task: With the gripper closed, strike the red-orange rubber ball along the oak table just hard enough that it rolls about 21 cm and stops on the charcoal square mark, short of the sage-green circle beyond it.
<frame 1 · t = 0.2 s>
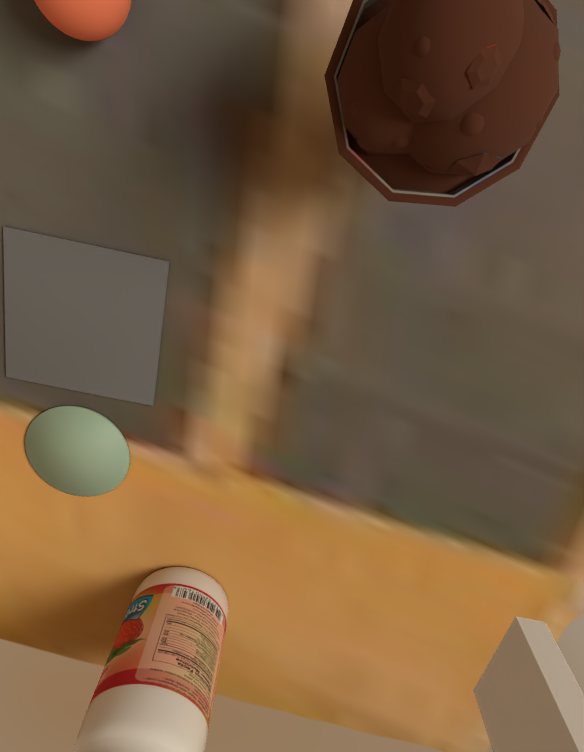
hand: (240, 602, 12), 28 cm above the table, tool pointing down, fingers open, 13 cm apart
fruit juice: (183, 598, 49), on the table
ice cream bowl: (404, 108, 32), on the table
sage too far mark: (78, 452, 43), on the table
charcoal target: (84, 321, 38), on the table
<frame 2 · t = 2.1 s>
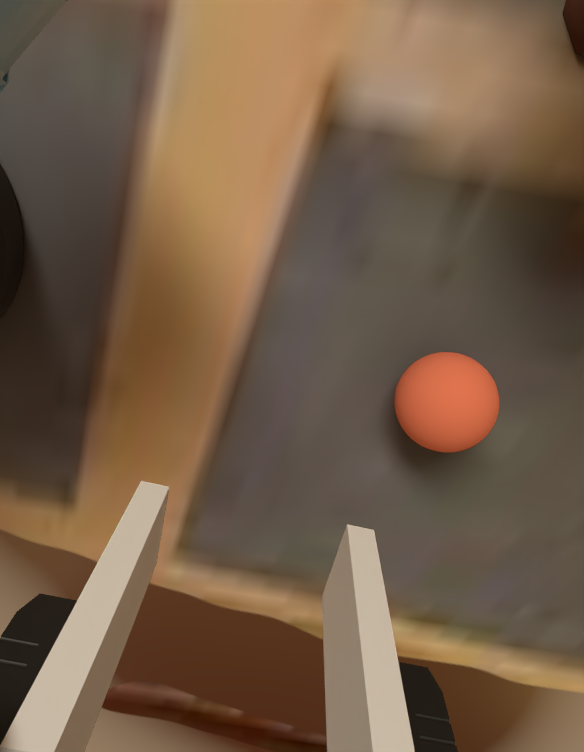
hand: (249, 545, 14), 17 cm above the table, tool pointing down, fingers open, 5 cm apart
ball: (445, 401, 27), on the table
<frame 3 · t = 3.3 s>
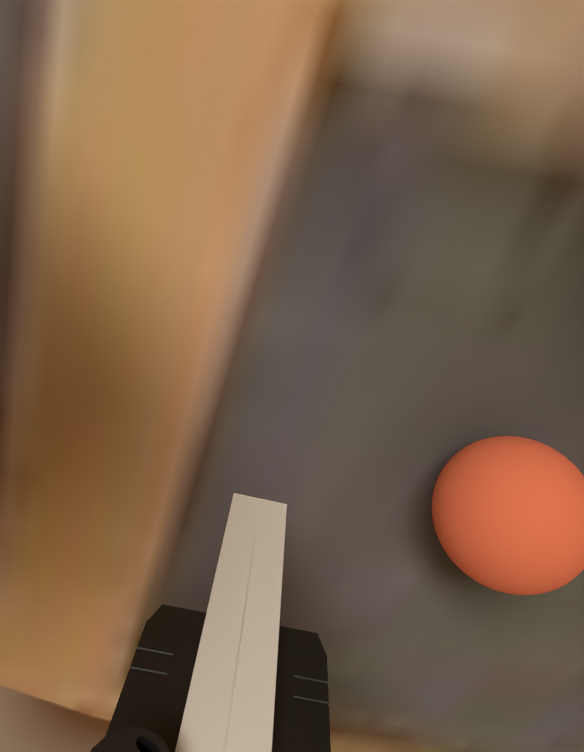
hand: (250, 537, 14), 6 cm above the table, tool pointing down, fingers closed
ball: (510, 512, 18), on the table
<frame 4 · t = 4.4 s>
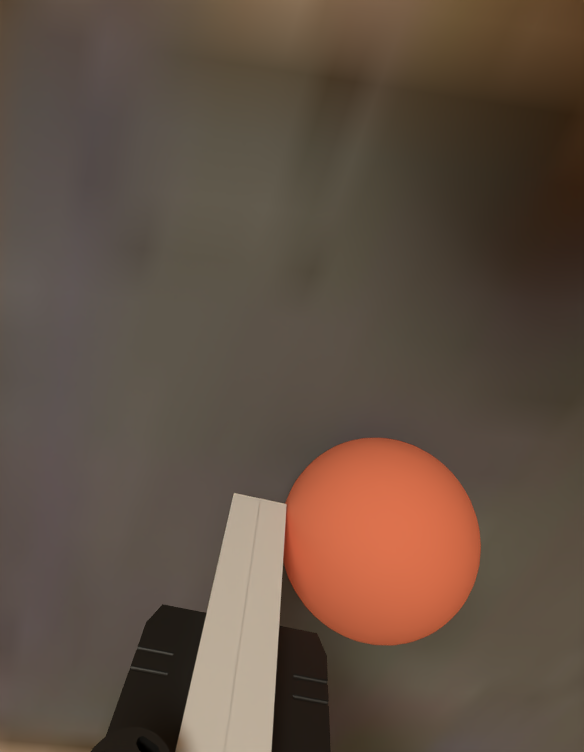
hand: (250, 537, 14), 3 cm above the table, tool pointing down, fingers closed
ball: (377, 535, 14), on the table
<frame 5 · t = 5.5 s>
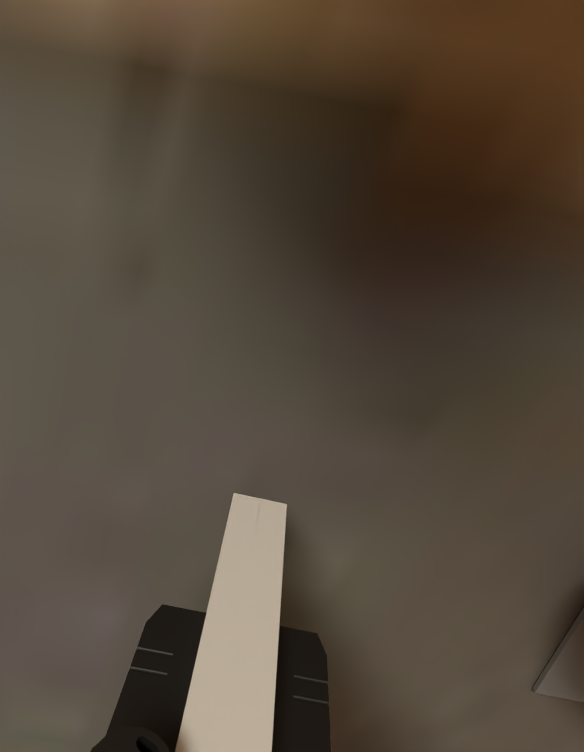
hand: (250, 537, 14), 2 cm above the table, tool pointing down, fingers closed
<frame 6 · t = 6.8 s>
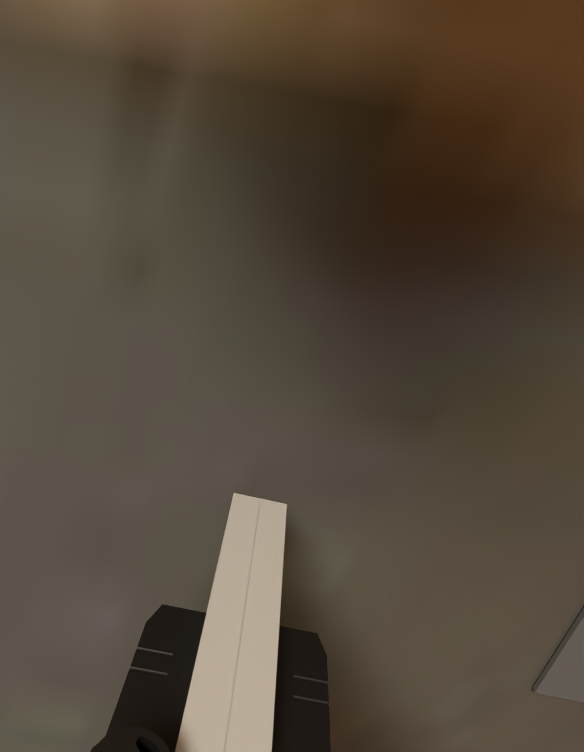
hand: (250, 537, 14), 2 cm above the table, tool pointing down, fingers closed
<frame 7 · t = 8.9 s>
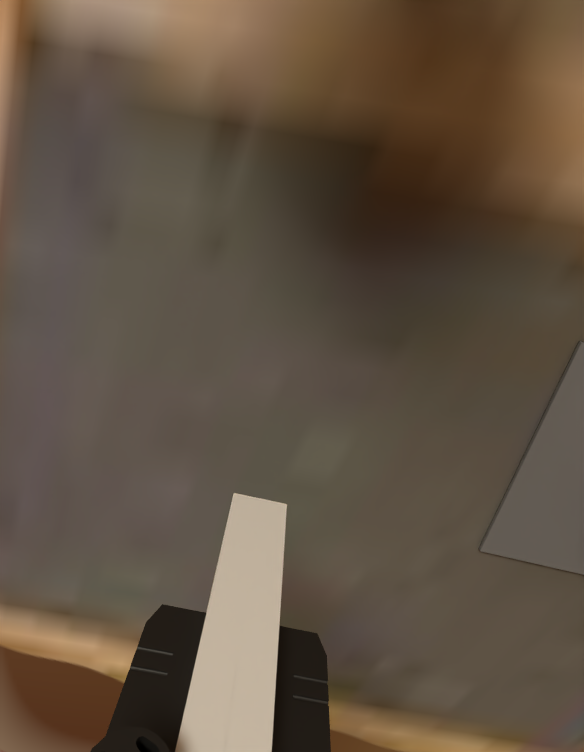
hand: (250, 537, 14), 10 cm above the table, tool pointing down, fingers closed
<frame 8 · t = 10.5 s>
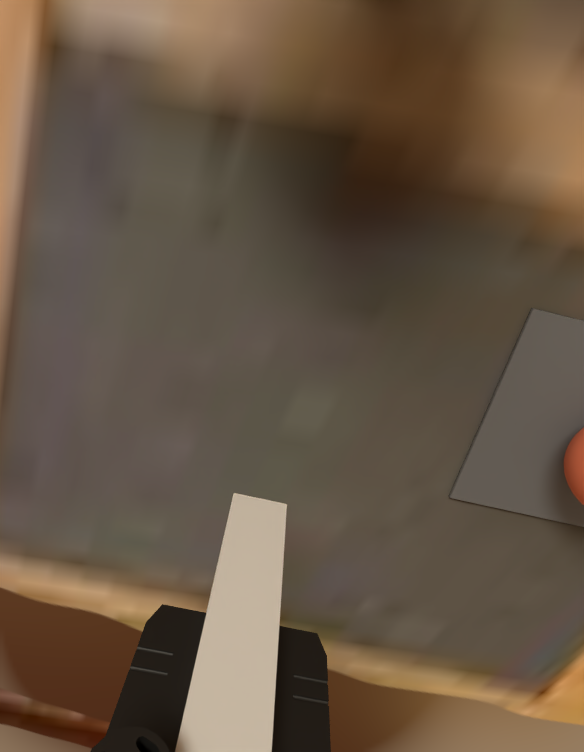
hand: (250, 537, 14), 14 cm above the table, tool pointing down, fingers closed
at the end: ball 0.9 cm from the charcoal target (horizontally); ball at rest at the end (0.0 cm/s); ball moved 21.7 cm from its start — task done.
